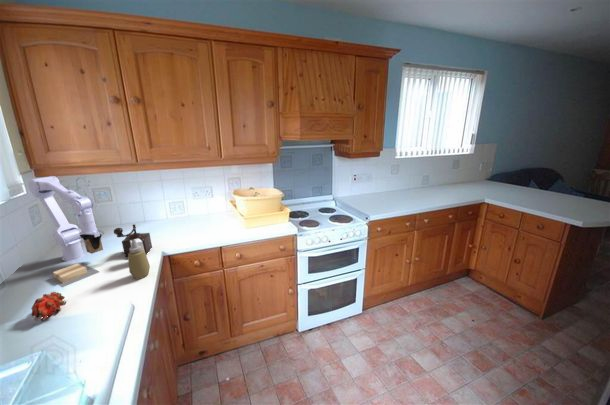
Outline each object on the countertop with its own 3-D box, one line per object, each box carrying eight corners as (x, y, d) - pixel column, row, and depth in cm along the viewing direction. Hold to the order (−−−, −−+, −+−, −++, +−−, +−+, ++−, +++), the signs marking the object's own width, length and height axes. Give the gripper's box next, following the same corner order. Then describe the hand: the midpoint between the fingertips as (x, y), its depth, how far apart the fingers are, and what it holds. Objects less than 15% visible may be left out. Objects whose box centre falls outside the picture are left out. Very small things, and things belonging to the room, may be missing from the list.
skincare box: (147, 262, 132) (143, 241, 128) (137, 266, 129) (132, 243, 125) (143, 258, 136) (139, 237, 132) (134, 262, 133) (129, 240, 129)
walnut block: (86, 251, 130) (83, 240, 129) (98, 247, 134) (95, 237, 133) (91, 253, 128) (88, 242, 126) (103, 249, 132) (100, 238, 131)
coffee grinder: (131, 249, 147) (125, 219, 142) (152, 247, 149) (147, 217, 144) (118, 262, 132) (110, 230, 127) (142, 260, 135) (135, 228, 130)
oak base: (54, 277, 118) (53, 272, 118) (78, 268, 126) (77, 263, 125) (63, 283, 114) (61, 277, 113) (87, 273, 122) (86, 267, 121)
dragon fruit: (65, 305, 103) (47, 331, 92) (38, 299, 99) (17, 325, 88) (74, 290, 101) (57, 313, 91) (48, 283, 97) (27, 307, 87)
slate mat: (46, 277, 120) (45, 276, 120) (82, 264, 132) (82, 262, 131) (62, 288, 111) (62, 287, 111) (100, 273, 123) (99, 271, 123)
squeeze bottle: (138, 271, 124) (130, 236, 119) (155, 271, 124) (148, 236, 119) (126, 280, 116) (118, 243, 111) (144, 280, 116) (136, 243, 111)
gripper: (70, 222, 127) (77, 247, 131) (84, 227, 120) (91, 253, 124) (87, 218, 133) (93, 242, 137) (101, 222, 126) (108, 247, 130)
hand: (93, 247), depth 131 cm, fingers closed on walnut block, 5 cm apart
